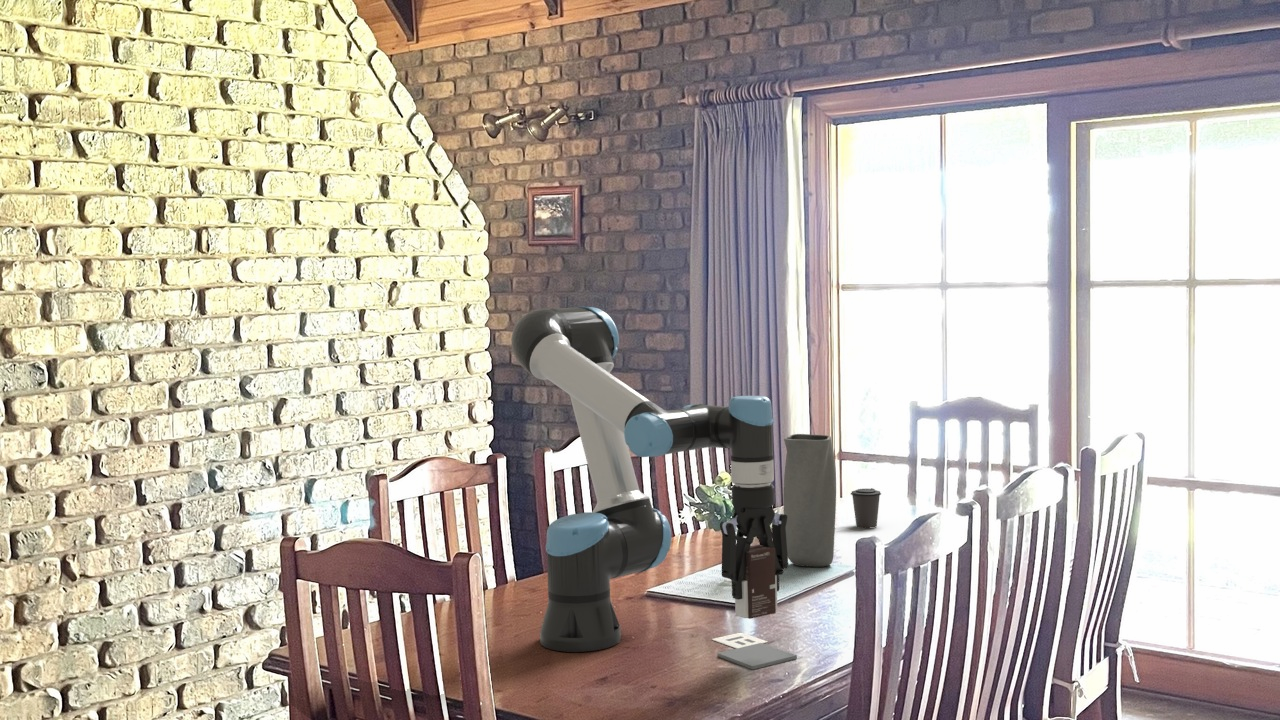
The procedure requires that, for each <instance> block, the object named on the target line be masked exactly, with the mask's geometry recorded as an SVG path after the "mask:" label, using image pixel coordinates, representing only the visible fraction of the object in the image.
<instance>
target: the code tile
mask: <svg viewBox="0 0 1280 720" xmlns="http://www.w3.org/2000/svg"><path fill="white" fill-rule="evenodd" d="M711 641H713V642H717V643H719V644H722V645H726V646H728V647H730V648H734V649H737V648H741V647H745V646H750V645H754V644H758V643H763V644H766V643H769V641H767V640H765V639H762V638H760V637H756V636H754V635H753V636H752V635H750V634H746V633H744V632H737V633H733V634H728V635H724V636H720V637H714V638H711Z"/></svg>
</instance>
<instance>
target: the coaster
mask: <svg viewBox="0 0 1280 720" xmlns="http://www.w3.org/2000/svg"><path fill="white" fill-rule="evenodd" d="M716 654H717V656H716V657H719V658H721V659H723V660H727V661H729V662H731V663H734V664H737V665H740V666H742V667H745V668H748V669H751V670H757V669H761V668H764V667H768V666H772V665H777V664H780V663H781V664H782V663H784V662H789V661H793V660H797V659H798V655H796V654H794V653H791V652H789V651H785V650H783V649H779V648H777V647H773V646H771V645H769V644H766V643H758V644H754V645H750V646H745V647H741V648H737V649H736V648H734V649H729V650H724V651H721V652H717V653H716Z"/></svg>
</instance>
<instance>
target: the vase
mask: <svg viewBox="0 0 1280 720" xmlns="http://www.w3.org/2000/svg"><path fill="white" fill-rule="evenodd" d="M783 441H784V444H785V448H786V456H785V463H784V464H785V466H784V474H783V501H782V502H783V514H786V515H787V522H786V541H787V554H788V561H790V562H791V563H792V564H793V565H795V566H799V567H807V568H809V567H814V568H815V567H816V568H821V567H828V566H830V565H831V564H832V563H833V561H834V555H835V552H834V551H835V531H836V514H837V513H836V511H837V470H836V469H837V468H836V461H835V453H834V448H833V441H832V437H831V435H827V434H808V433H805V434H804V433H793V434H790V435H789V436H785V437H784V438H783Z"/></svg>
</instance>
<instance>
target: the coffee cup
mask: <svg viewBox="0 0 1280 720" xmlns="http://www.w3.org/2000/svg"><path fill="white" fill-rule="evenodd" d="M850 495H851V497H852V503H853V509H854V510H853V511H854V518H855V526H856V528H859V529H871V528H870V527H875V526H878V517H879V509H880V508H879V507H880V506H879V505H880V496H881V495H882V492H881V491H880V490H876V489H875V488H872V487H871V488H858V489H855V490H852V491H851V492H850ZM875 528H876V527H875Z"/></svg>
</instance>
